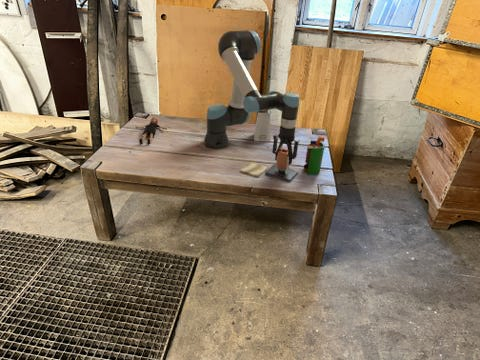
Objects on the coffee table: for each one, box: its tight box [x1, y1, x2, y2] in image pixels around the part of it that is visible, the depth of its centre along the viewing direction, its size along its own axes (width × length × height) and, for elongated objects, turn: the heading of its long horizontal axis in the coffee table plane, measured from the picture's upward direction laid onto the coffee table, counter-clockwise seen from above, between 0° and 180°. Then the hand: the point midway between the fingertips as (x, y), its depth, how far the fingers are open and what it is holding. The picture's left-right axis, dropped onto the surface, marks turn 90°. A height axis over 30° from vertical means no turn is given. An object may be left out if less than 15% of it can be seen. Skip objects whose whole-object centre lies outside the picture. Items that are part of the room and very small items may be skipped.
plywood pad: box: [239, 161, 269, 178], centre depth 172 cm, size 11×11×1 cm
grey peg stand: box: [264, 152, 299, 183], centre depth 167 cm, size 14×11×12 cm
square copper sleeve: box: [276, 147, 289, 170], centre depth 165 cm, size 5×5×9 cm
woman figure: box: [134, 117, 167, 145], centre depth 206 cm, size 20×6×35 cm
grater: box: [253, 109, 272, 143], centre depth 204 cm, size 10×10×20 cm
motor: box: [302, 135, 326, 176], centre depth 170 cm, size 10×9×20 cm
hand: (282, 167), depth 168 cm, fingers closed on square copper sleeve, 5 cm apart
